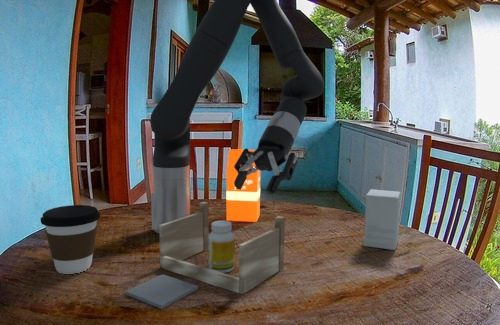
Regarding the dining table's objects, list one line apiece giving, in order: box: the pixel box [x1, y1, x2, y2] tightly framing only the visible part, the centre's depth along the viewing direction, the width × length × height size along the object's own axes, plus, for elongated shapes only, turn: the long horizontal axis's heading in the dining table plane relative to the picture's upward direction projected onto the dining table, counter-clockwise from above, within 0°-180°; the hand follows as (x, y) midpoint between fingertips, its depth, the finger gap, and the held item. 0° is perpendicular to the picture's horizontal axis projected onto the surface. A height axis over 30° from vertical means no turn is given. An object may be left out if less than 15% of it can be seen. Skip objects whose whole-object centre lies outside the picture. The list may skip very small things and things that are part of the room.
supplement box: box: [363, 188, 402, 251], centre depth 102 cm, size 7×7×13 cm
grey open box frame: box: [159, 201, 286, 295], centre depth 86 cm, size 21×14×11 cm, turn 56°
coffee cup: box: [40, 204, 101, 275], centre depth 85 cm, size 11×11×12 cm
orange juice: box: [225, 148, 261, 223], centre depth 123 cm, size 8×9×20 cm
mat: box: [124, 273, 199, 310], centre depth 76 cm, size 9×9×1 cm
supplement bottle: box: [207, 219, 236, 274], centre depth 86 cm, size 5×5×10 cm
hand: (252, 190), depth 94 cm, fingers open, 8 cm apart
